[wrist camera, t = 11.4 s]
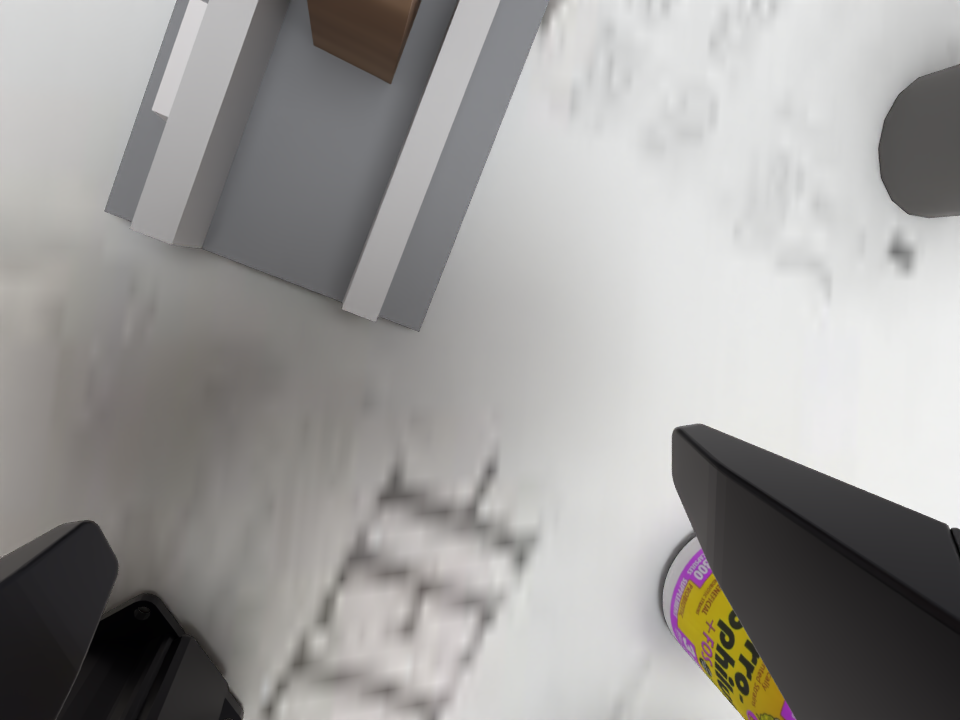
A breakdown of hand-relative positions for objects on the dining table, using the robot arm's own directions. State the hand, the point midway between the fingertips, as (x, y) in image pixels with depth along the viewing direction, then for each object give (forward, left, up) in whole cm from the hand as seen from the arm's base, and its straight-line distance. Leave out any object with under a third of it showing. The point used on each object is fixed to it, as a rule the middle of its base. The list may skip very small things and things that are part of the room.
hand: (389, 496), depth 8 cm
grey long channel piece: (+6, +10, -12) cm, 16 cm away
